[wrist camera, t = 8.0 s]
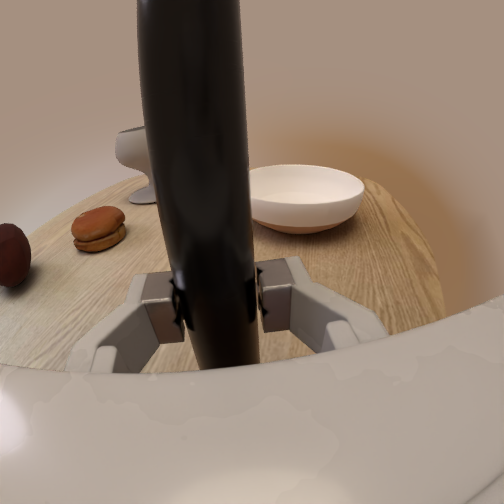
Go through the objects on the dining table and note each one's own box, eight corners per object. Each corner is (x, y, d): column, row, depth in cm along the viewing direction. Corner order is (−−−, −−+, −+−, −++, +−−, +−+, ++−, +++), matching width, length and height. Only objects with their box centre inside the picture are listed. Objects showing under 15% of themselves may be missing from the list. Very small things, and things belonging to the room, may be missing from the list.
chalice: (124, 212, 50) (110, 137, 42) (125, 193, 61) (114, 132, 54) (193, 196, 55) (184, 122, 47) (181, 180, 66) (173, 120, 58)
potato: (32, 257, 38) (14, 208, 33) (48, 281, 31) (24, 221, 27) (-5, 280, 32) (-26, 231, 27) (2, 311, 25) (-27, 252, 21)
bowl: (325, 192, 53) (326, 161, 50) (385, 237, 37) (391, 196, 34) (226, 203, 50) (222, 170, 47) (251, 261, 34) (248, 213, 30)
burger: (118, 251, 37) (109, 221, 35) (67, 257, 37) (57, 230, 34) (134, 222, 46) (128, 197, 43) (89, 229, 45) (82, 206, 43)
